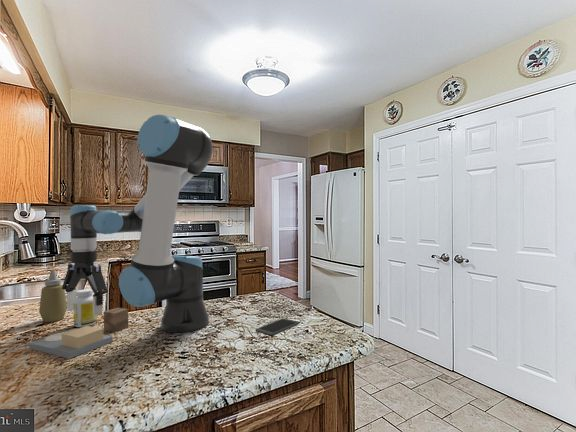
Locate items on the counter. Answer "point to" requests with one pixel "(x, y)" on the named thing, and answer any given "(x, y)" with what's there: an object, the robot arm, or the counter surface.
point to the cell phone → (277, 327)
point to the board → (65, 349)
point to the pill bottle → (84, 308)
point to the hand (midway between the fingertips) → (84, 312)
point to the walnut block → (115, 319)
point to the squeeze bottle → (52, 299)
